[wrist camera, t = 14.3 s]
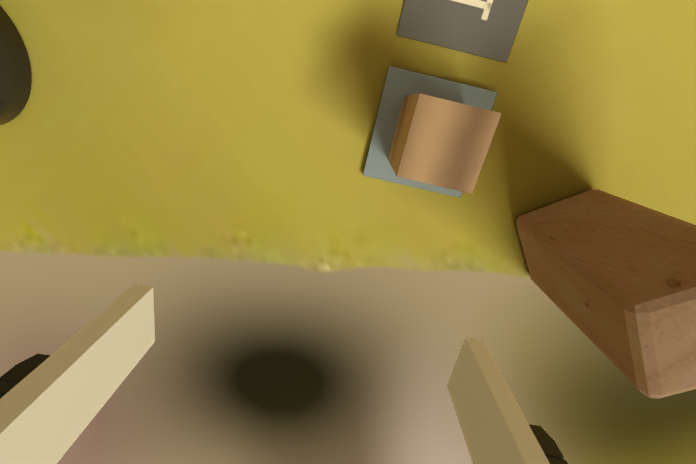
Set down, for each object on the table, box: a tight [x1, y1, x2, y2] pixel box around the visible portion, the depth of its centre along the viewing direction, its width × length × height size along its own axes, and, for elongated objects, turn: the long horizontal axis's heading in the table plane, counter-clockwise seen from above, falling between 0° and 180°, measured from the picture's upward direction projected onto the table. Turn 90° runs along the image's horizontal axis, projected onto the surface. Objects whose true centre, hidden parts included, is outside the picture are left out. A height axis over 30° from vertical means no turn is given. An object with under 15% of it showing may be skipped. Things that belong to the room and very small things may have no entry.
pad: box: [363, 66, 498, 198], centre depth 39 cm, size 12×12×1 cm
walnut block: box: [388, 93, 502, 194], centre depth 34 cm, size 7×7×10 cm
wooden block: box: [516, 190, 696, 398], centre depth 33 cm, size 10×10×20 cm
